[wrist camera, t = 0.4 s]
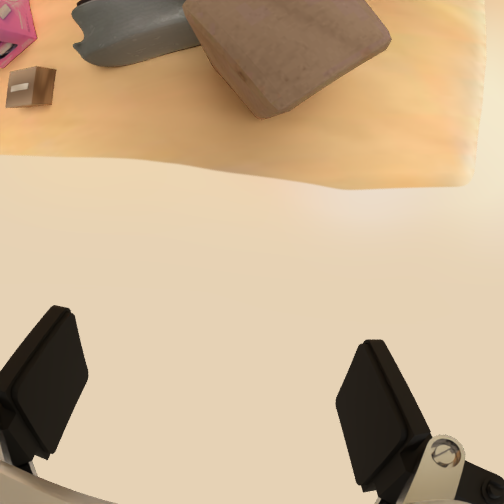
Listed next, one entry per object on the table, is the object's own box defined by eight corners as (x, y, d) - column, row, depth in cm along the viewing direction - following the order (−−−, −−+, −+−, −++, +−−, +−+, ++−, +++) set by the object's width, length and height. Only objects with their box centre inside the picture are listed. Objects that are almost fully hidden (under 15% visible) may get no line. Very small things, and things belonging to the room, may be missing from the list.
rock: (226, -32, 26) (222, -62, 19) (241, 38, 31) (240, 18, 23) (91, 8, 27) (63, -9, 20) (99, 77, 32) (69, 70, 24)
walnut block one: (30, 74, 30) (9, 71, 25) (56, 70, 30) (35, 66, 26) (26, 107, 32) (4, 108, 27) (52, 104, 32) (30, 104, 27)
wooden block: (260, 123, 35) (278, 119, 17) (208, 61, 32) (172, 1, 13) (325, 78, 33) (402, 41, 14) (275, 17, 30) (303, -69, 11)
